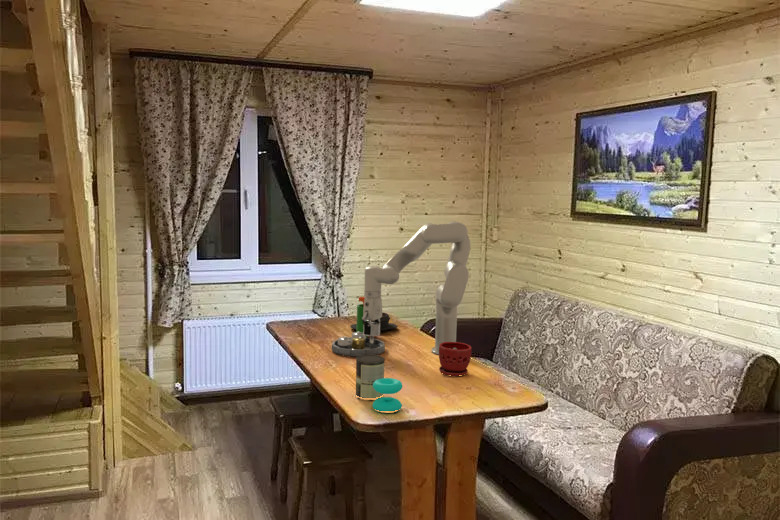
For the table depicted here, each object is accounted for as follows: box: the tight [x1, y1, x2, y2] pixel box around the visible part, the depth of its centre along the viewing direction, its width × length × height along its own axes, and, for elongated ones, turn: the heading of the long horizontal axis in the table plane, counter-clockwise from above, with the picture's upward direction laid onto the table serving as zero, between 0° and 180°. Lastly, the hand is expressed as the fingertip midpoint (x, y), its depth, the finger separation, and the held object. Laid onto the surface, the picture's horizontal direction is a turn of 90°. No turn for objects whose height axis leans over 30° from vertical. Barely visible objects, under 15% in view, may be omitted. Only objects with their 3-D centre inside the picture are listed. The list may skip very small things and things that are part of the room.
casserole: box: [349, 311, 398, 333], centre depth 346 cm, size 25×19×8 cm
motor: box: [355, 296, 375, 338], centre depth 329 cm, size 10×9×20 cm
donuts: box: [372, 377, 403, 411], centre depth 225 cm, size 10×10×10 cm
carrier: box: [331, 331, 386, 358], centre depth 303 cm, size 24×24×7 cm
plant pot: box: [438, 341, 472, 377], centre depth 269 cm, size 13×13×12 cm
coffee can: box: [355, 355, 386, 398], centre depth 238 cm, size 10×10×14 cm
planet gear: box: [363, 322, 381, 337], centre depth 299 cm, size 8×8×5 cm
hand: (371, 332), depth 299 cm, fingers closed on planet gear, 7 cm apart
